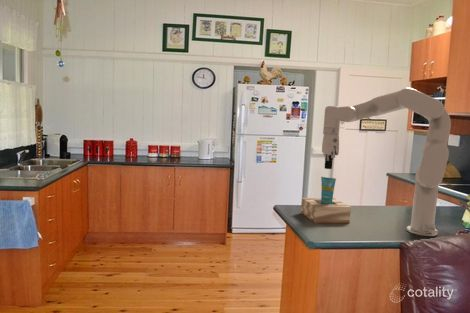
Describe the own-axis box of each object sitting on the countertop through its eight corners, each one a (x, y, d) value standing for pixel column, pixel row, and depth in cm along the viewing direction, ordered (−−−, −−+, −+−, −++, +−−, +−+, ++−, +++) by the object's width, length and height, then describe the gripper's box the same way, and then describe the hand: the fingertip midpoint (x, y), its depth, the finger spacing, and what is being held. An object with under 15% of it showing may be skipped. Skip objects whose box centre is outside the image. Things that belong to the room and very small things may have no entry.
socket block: (349, 223, 183) (350, 206, 182) (314, 223, 180) (315, 206, 179) (333, 213, 201) (334, 198, 200) (300, 213, 197) (302, 198, 196)
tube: (316, 214, 189) (319, 177, 187) (319, 212, 194) (322, 175, 191) (331, 217, 186) (335, 179, 184) (334, 215, 190) (337, 177, 188)
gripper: (345, 132, 179) (342, 171, 181) (331, 131, 193) (328, 166, 195) (330, 132, 177) (327, 171, 179) (317, 130, 192) (315, 166, 194)
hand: (328, 168), depth 187 cm, fingers closed
